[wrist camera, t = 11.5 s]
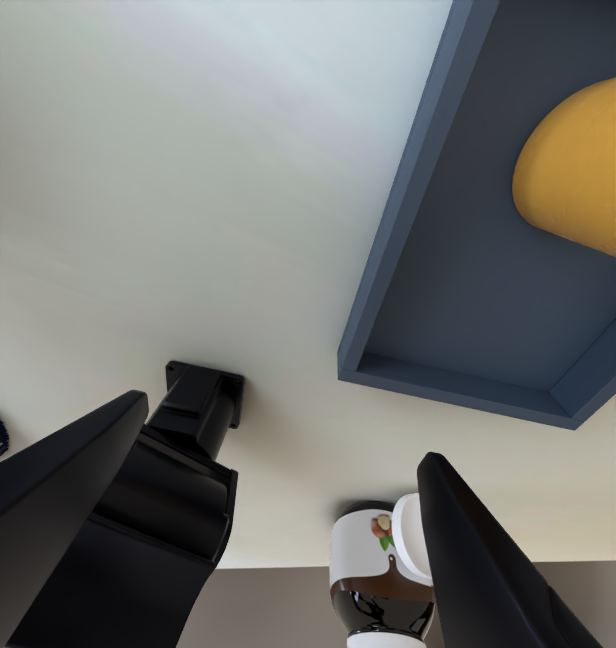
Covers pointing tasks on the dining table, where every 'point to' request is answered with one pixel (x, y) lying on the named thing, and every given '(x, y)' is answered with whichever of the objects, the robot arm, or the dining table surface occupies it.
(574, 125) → the tapered yellow cylinder
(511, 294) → the blue tray
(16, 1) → the dining table surface
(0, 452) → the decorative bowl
